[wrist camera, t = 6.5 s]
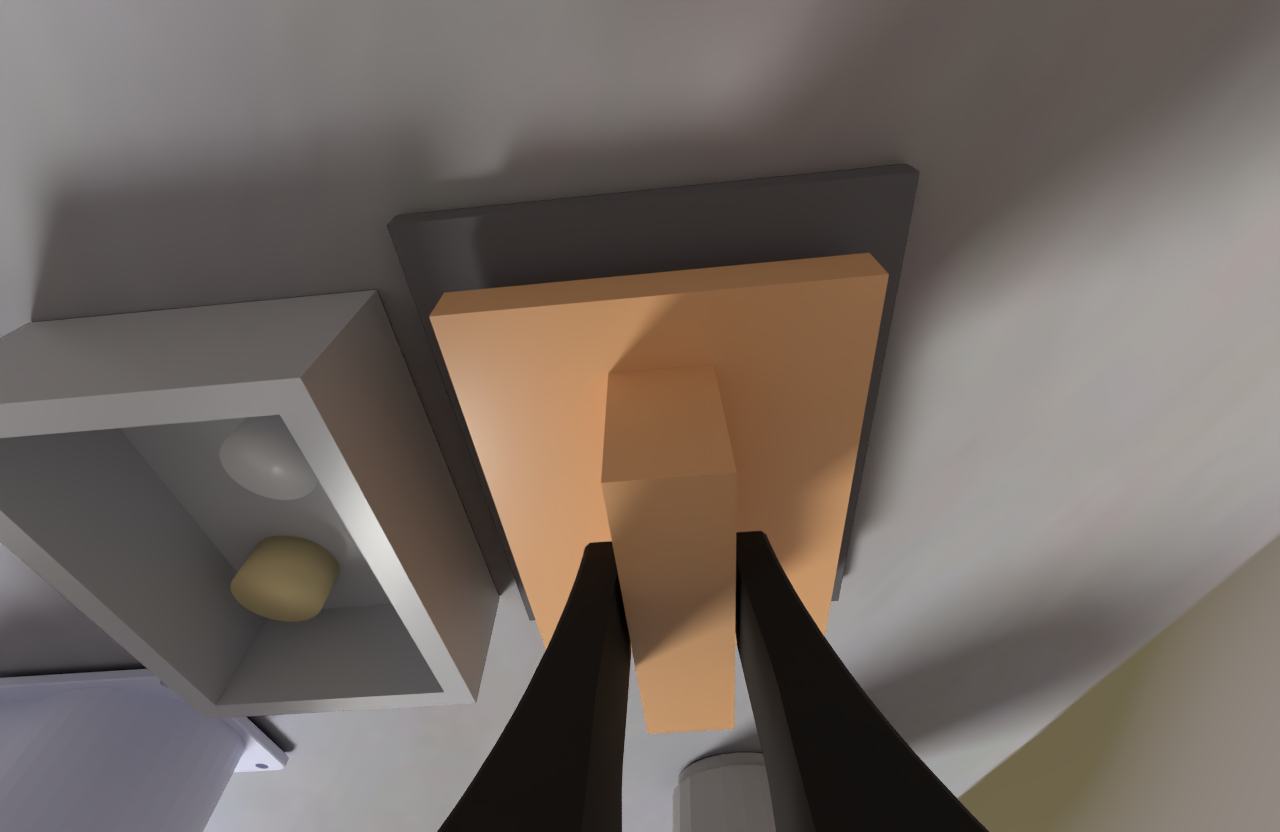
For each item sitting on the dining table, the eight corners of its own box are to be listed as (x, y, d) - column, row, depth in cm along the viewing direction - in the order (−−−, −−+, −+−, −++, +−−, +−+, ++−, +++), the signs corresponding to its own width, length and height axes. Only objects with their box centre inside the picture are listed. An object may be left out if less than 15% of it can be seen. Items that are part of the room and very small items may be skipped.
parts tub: (267, 612, 19) (205, 719, 16) (28, 322, 13) (-144, 416, 10) (499, 597, 19) (476, 703, 16) (376, 289, 12) (300, 377, 9)
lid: (554, 602, 18) (533, 768, 14) (454, 275, 11) (364, 418, 8) (808, 585, 18) (857, 750, 14) (855, 238, 11) (974, 367, 7)
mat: (532, 604, 19) (529, 620, 19) (397, 215, 11) (387, 225, 11) (832, 584, 19) (838, 600, 18) (907, 163, 11) (919, 171, 10)
